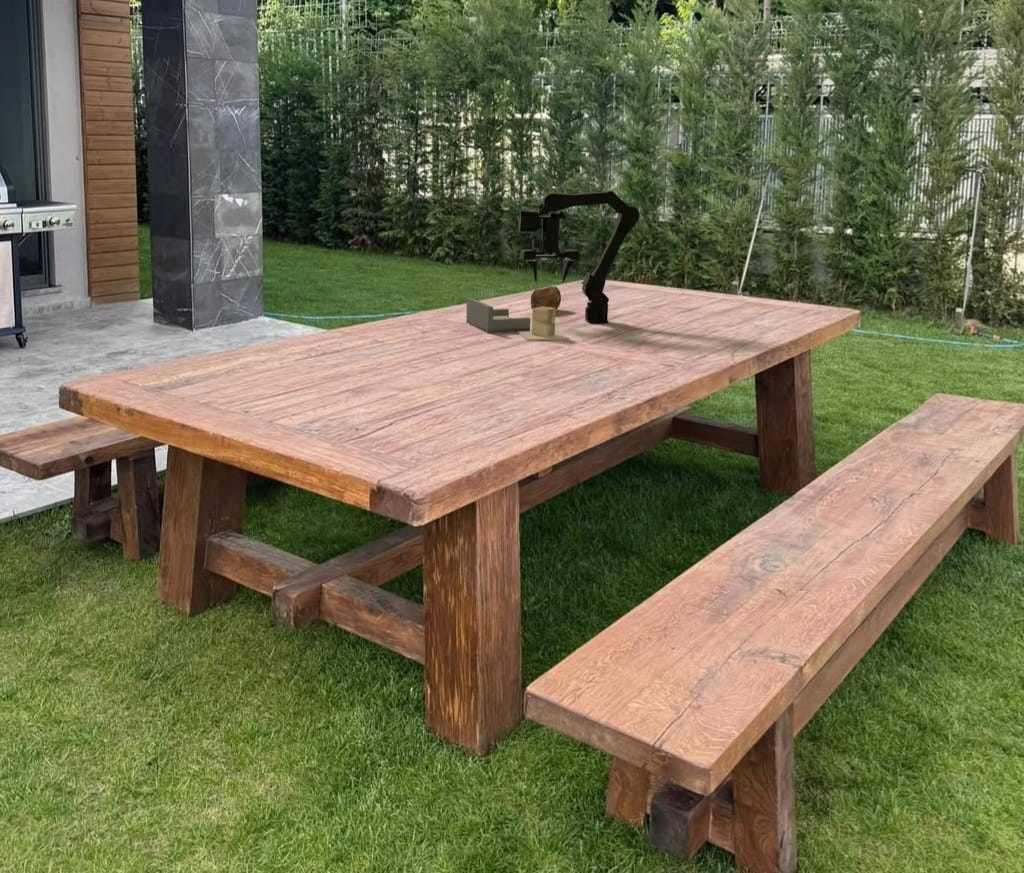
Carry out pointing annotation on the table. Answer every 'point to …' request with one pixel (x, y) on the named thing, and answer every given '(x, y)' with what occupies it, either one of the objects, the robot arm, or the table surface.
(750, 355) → the table surface
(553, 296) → the tin
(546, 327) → the block
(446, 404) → the table surface
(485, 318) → the grey walled tray
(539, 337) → the tile
